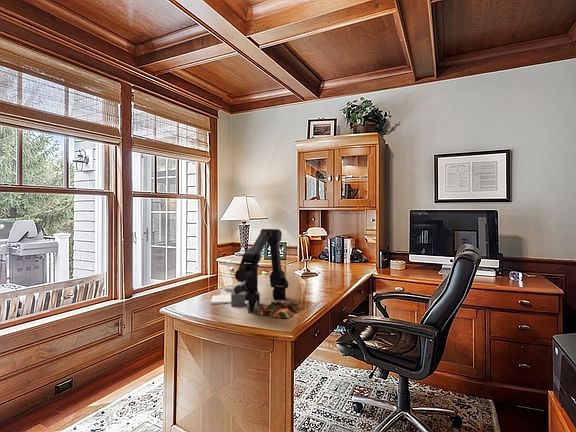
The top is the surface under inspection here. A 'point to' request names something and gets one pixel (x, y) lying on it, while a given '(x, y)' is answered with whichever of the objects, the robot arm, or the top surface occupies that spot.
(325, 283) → the top surface
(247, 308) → the plug
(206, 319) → the top surface
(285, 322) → the top surface
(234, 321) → the top surface
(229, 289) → the electronic device
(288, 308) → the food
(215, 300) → the white mat
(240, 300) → the grey notched block
